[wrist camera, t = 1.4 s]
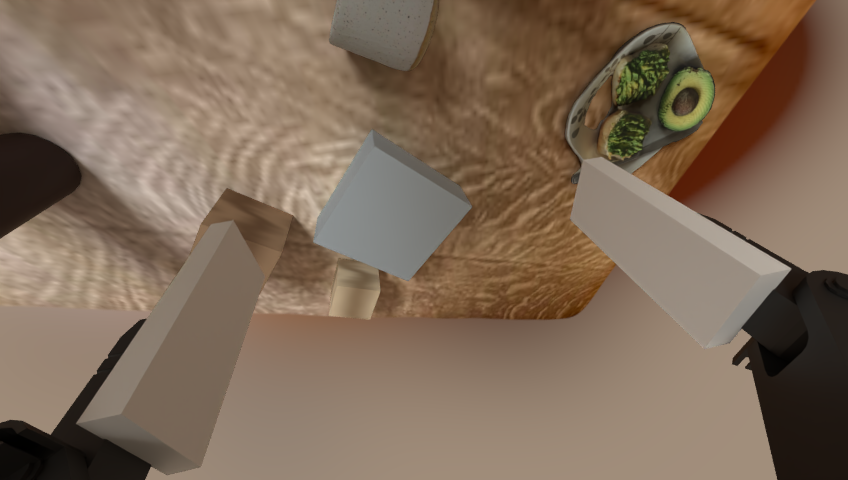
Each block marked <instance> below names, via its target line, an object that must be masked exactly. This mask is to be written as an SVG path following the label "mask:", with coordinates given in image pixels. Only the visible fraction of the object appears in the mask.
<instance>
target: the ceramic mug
mask: <svg viewBox="0 0 848 480" xmlns="http://www.w3.org/2000/svg"><path fill="white" fill-rule="evenodd" d="M438 7H439V1H438V0H337V3H336V8H335V12H334V17H333V21H332V26H331V32H330V38H329V42H330V43H331V44H332V45H335V46H337V47H340V48H343V49H345V50H348V51H350V52H353V53H355V54H358V55H360V56H363V57H365V58H368V59H371V60H374V61H376V62H379V63H381V64H383V65H386V66H388V67H391V68H394V69H398V70H402V71H411V70H413V69H414V68H416V67H417V66H418V64H419V63H420V62H421V60H422V58H423V56H424V54H425V52H426V50H427V47H428V45H429V42H430V40H431V37H432V34H433V30H434V27H435V23H436V19H437V14H438Z"/></svg>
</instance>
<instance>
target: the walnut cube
mask: <svg viewBox="0 0 848 480" xmlns="http://www.w3.org/2000/svg"><path fill="white" fill-rule="evenodd" d="M292 218H293V215H291V214H288V213H286V212H283V211H281V210H279V209H276V208H274V207H271V206H269V205H266V204H264V203H262V202H259V201H257V200H254V199H252V198H249V197H247V196H245V195H242V194H240V193H237V192H235V191H232V190H230V189H228V188H227V189H226V190H225V191H224V193H223V194H222V196H221V197H220V198H219V200H218V201H217V202H216V204H215V205H214V207H213V208H212V209H211V211H210V212H209V214H208V215H207V216H206V218H205V219H204V220H203V222H202V223H201V225H200V228H199V231H198V233H197V236H196V239H195V241H194V244H193V247H192V250H191V252H190V254H191V253H192V251H193V250H194V248H195V247H196V245H197V244H198V243H199V241H200V240H201V238H202V237H203V235H204V234H205V232H206V231H207V229H208V228H209V226H210V225H211V224H215V223H221V222H227V221H232V220H234V222H235V224H236V226H237V227H238V229H239V231H240V233H241V235H242V236H243V238H244V240H245V242H246V244H247V245H248V247H249V249H250V251H251V252H252V254H253V256H254V258H255V260H256V261H257V263H258V265H259V267H260V268H261V270H262V272H263V274H264V276H265V279H264V282H263V285H262V288H261V291H262V289H263V287H264V285H265V283H266V282H267V280H268V278H269V276H270V274H271V272H272V270H273V269H274V267H275V265H276V263H277V261H278V259H279V258H280V256H281V254H282V252H283V248H284V245H285V242H286V238H287V235H288V232H289V228H290V225H291V222H292ZM189 256H190V255H189ZM261 291H260V293H261ZM259 295H260V294H259Z"/></svg>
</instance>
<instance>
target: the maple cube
mask: <svg viewBox="0 0 848 480" xmlns="http://www.w3.org/2000/svg"><path fill="white" fill-rule="evenodd" d="M379 294H380V280H379V270H378V269H377V268H374V267H372V266H370V265H367V264H365V263H362V262H360V261H354V260H348V259H341V258H339V259H338V263H337V267H336V271H335V275H334V279H333V282H332V286H331V297H330V309H329V316H336V317H347V318H358V319H368V320H370V318H371V315H372V313H373V310H374V307H375V305H376V302H377V299H378V297H379Z"/></svg>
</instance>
